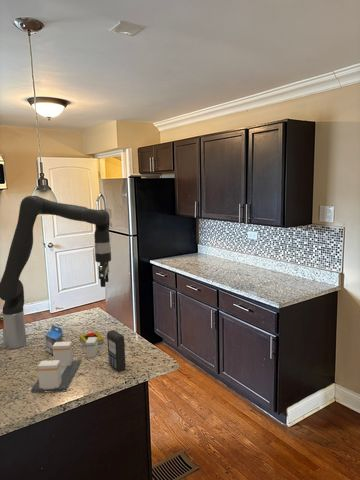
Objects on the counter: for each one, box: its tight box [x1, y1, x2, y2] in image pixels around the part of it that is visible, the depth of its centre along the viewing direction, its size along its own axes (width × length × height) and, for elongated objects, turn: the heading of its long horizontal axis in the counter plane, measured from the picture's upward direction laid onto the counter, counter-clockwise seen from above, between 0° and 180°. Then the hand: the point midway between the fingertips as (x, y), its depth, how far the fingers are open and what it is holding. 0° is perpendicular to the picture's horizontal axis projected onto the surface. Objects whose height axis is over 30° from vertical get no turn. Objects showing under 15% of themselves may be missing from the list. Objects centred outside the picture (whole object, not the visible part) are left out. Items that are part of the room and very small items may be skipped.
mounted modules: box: [37, 341, 74, 388], centre depth 144 cm, size 7×21×9 cm, turn 2°
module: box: [85, 337, 99, 358], centre depth 163 cm, size 4×6×7 cm
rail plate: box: [30, 359, 81, 393], centre depth 145 cm, size 13×22×1 cm, turn 2°
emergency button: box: [78, 331, 106, 349], centre depth 176 cm, size 9×4×15 cm
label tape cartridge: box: [44, 324, 64, 355], centre depth 165 cm, size 9×4×12 cm, turn 52°
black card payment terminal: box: [106, 330, 126, 372], centre depth 150 cm, size 9×4×15 cm, turn 39°
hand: (104, 284), depth 173 cm, fingers open, 8 cm apart
